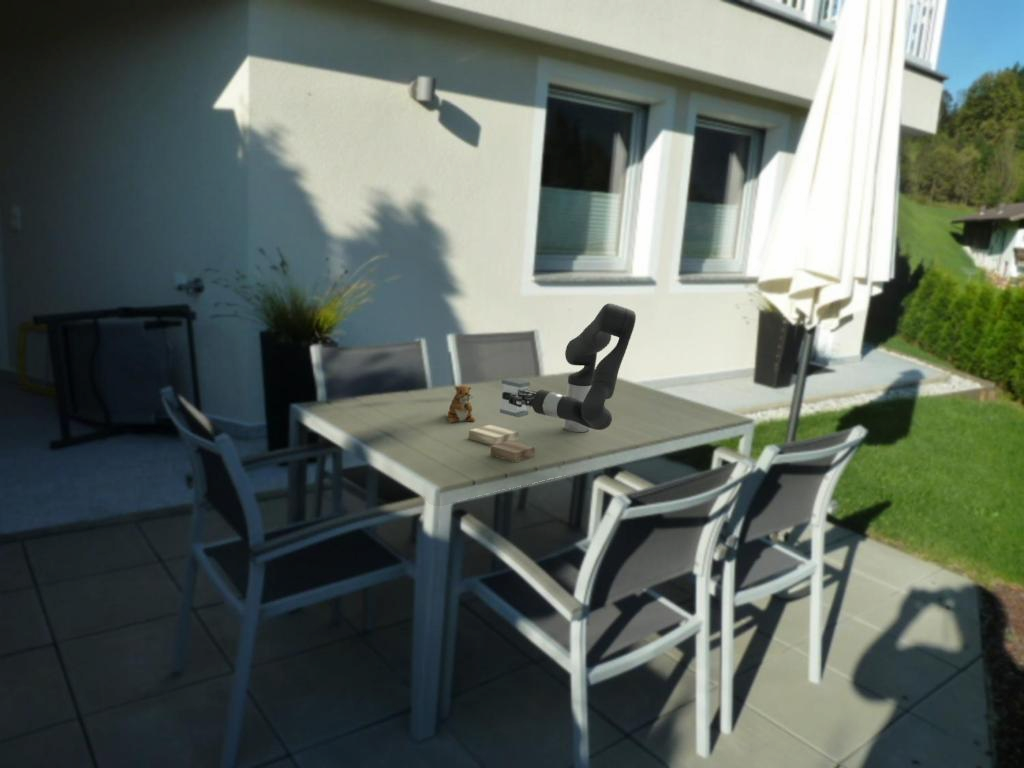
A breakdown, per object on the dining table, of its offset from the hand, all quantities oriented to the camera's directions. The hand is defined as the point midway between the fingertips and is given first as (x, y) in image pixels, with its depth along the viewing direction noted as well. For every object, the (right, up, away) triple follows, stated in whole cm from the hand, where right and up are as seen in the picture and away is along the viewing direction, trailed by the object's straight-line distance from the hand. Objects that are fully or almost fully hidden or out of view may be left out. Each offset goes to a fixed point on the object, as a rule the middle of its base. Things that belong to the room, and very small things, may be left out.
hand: (508, 394), depth 243 cm
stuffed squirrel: (-19, -10, +42) cm, 48 cm away
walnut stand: (+1, -20, +2) cm, 20 cm away
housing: (+2, -6, 0) cm, 7 cm away
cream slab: (-5, -16, +18) cm, 25 cm away
